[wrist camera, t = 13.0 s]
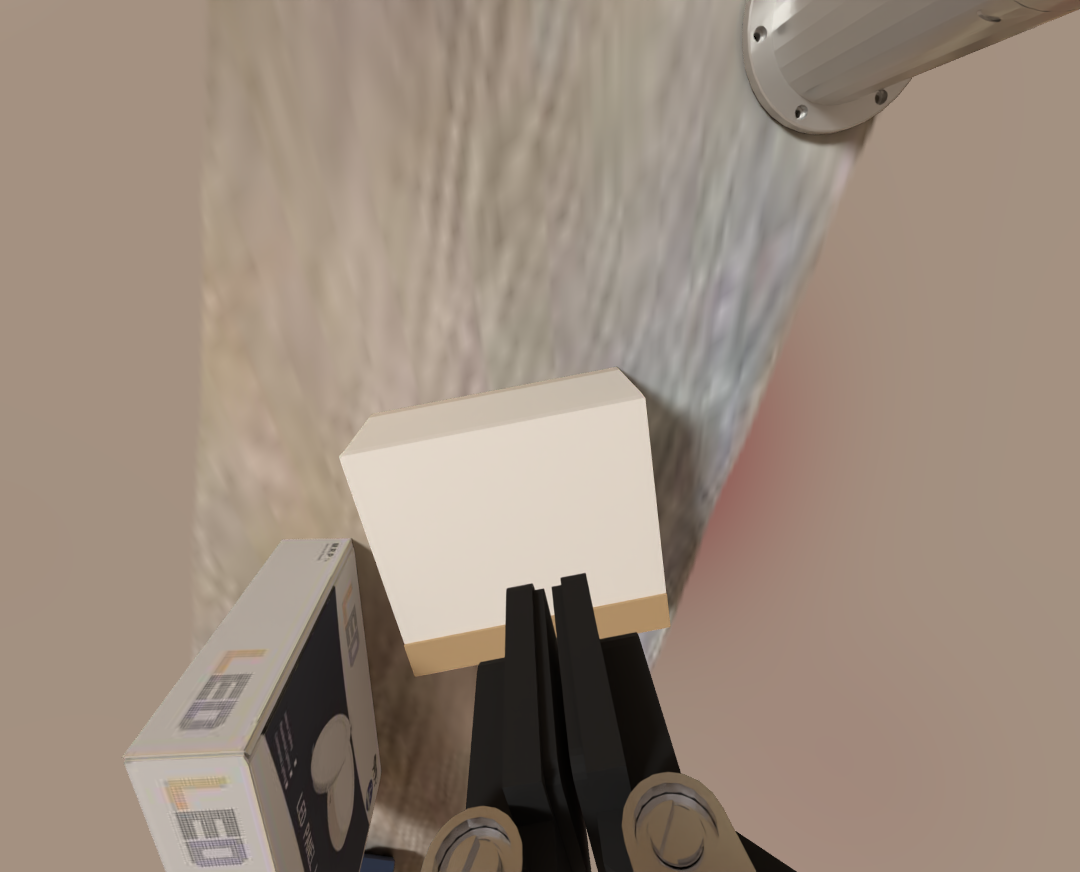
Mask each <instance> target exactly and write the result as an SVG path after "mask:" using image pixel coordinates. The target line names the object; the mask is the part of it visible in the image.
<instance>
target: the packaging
mask: <svg viewBox="0 0 1080 872" xmlns="http://www.w3.org/2000/svg"><path fill="white" fill-rule="evenodd" d="M122 758H123V759H125V762H124V764H125V767H126V769H127V772H128V775H129V777H130V780H131V782H132V785H133V788H134V790H135V793H136V796H137V798H138V800H139V803H140V806H141V808H142V811H143V814H144V816H145V819H146V822H147V824H148V827H149V829H150V832H151V835H152V837H153V840H154V843H155V845H156V848H157V850H158V853H159V856H160V858H161V861H162V863H163V866H164V868H165V871H166V872H360V868H361V864H362V859H363V855H364V850H365V846H366V841H367V837H368V832H369V828H370V823H371V819H372V814H373V810H374V805H375V801H376V796H377V792H378V787H379V783H380V778H381V764H380V756H379V748H378V739H377V731H376V723H375V715H374V707H373V698H372V690H371V682H370V674H369V666H368V657H367V649H366V641H365V633H364V625H363V617H362V608H361V600H360V592H359V584H358V576H357V567H356V559H355V551H354V547H353V545H352V539H351V538H326V539H282V540H281V542H280V543H279V545H278V546H277V547H276V549H275V550H274V551H273V553H272V554H271V555H270V557H269V558H268V559H267V561H266V562H265V564H264V565H263V566H262V568H261V569H260V570H259V572H258V573H257V574H256V576H255V577H254V579H253V580H252V581H251V583H250V584H249V585H248V587H247V588H246V589H245V591H244V592H243V594H242V595H241V596H240V598H239V599H238V601H237V602H236V603H235V605H234V606H233V607H232V609H231V610H230V611H229V613H228V614H227V616H226V617H225V618H224V620H223V621H222V622H221V624H220V625H219V626H218V628H217V629H216V630H215V632H214V633H213V635H212V636H211V637H210V639H209V640H208V641H207V643H206V644H205V645H204V647H203V648H202V650H201V651H200V652H199V653H198V655H197V656H196V657H195V659H194V660H193V661H192V663H191V664H190V665H189V667H188V668H187V670H186V671H185V672H184V674H183V675H182V676H181V678H180V679H179V681H178V682H177V683H176V685H175V686H174V687H173V689H172V690H171V691H170V693H169V694H168V695H167V697H166V698H165V699H164V701H163V702H162V704H161V705H160V706H159V708H158V709H157V710H156V712H155V713H154V714H153V716H152V717H151V718H150V720H149V721H148V723H147V724H146V725H145V727H144V728H143V729H142V731H141V732H140V733H139V735H138V736H137V737H136V739H135V740H134V742H133V743H132V745H131V746H130V747H129V748H128V750H127V751H126V752H125V754H124V755H123V757H122Z"/></svg>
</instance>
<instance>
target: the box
mask: <svg viewBox="0 0 1080 872" xmlns="http://www.w3.org/2000/svg"><path fill="white" fill-rule="evenodd" d="M641 394H642V393H641V392H640V391H639V390H638V389H637V388H636V387H635V385H634V384H633V383H632V382H631V381H630V380H629V379H628V378H627V377H626V376H625V375H624V374H623V373H622V372H621V371H620V370H619V369H618V368H617V367H613V368H607V369H602V370H597V371H592V372H587V373H581V374H576V375H571V376H566V377H561V378H555V379H550V380H545V381H540V382H535V383H530V384H524V385H519V386H514V387H509V388H504V389H498V390H493V391H488V392H483V393H478V394H472V395H467V396H462V397H457V398H452V399H446V400H441V401H436V402H431V403H426V404H420V405H415V406H410V407H405V408H400V409H394V410H389V411H384V412H379V413H374V414H371V416H370V417H369V418H368V420H367V421H366V422H365V424H364V425H363V426H362V428H361V429H360V430H359V432H358V433H357V434H356V436H355V437H354V438H353V440H352V441H351V442H350V444H349V445H348V446H347V448H346V449H345V450H344V452H346V451H351V450H356V449H362V448H367V447H372V446H377V445H382V444H388V443H393V442H398V441H403V440H408V439H413V438H419V437H424V436H429V435H434V434H439V433H445V432H450V431H455V430H460V429H465V428H470V427H476V426H481V425H486V424H491V423H496V422H501V421H507V420H512V419H517V418H522V417H527V416H533V415H538V414H543V413H548V412H553V411H558V410H564V409H569V408H574V407H579V406H584V405H590V404H595V403H600V402H605V401H610V400H615V399H621V398H626V397H631V396H636V395H641ZM642 395H643V394H642Z"/></svg>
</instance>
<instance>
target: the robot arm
mask: <svg viewBox="0 0 1080 872" xmlns="http://www.w3.org/2000/svg"><path fill="white" fill-rule="evenodd" d="M1079 9H1080V0H747V1H746V6H745V12H744V18H743V24H742V51H743V58H744V65H745V70H746V73H747V76H748V79H749V82H750V85H751V88H752V90H753V91H754V93H755V95H756V97H757V99H758V100H759V102H760V104H761V105H762V106H763V107H764V108H765V110H766V111H767V112H768V113H769V114H770V115H771V116H772V117H773V118H774V119H776V120H777V121H778V122H780V123H781V124H783V125H784V126H786V127H788V128H791V129H793V130H795V131H798V132H801V133H808V134H815V135H818V134H830V133H835V132H838V131H842V130H846V129H849V128H851V127H854V126H856V125H859V124H861V123H863V122H866V121H867V120H869V119H870V118H872V117H873V116H875V115H876V114H878V113H880V112H881V111H882V110H883V109H884V108H886V107H887V106H888V105H889V104H890V103H891V102H892V101H893V100H894V99H895V98H897V96H898V95H899V94H900V93H901V92H902V90H903V89H904V88H905V87H906V85H907V84H908V83H909V82H910V80H911V79H912V77H914V76H916V75H918V74H921V73H923V72H926V71H928V70H931V69H933V68H936V67H938V66H941V65H943V64H945V63H948V62H951V61H953V60H955V59H958V58H960V57H963V56H965V55H968V54H970V53H972V52H975V51H978V50H980V49H983V48H985V47H988V46H990V45H992V44H995V43H997V42H1000V41H1002V40H1005V39H1007V38H1010V37H1012V36H1015V35H1017V34H1019V33H1022V32H1024V31H1027V30H1030V29H1032V28H1035V27H1037V26H1039V25H1042V24H1044V23H1047V22H1049V21H1052V20H1054V19H1057V18H1059V17H1062V16H1064V15H1066V14H1069V13H1072V12H1074V11H1076V10H1079ZM754 35H755V36H756V37H757V42H756V41H755V40H754ZM795 112H796V113H797V118H796V116H795ZM560 580H561V585H558V586H553V587H552V597H553V606H554V616H555V625H556V634H555V630H554V626H553V622H552V618H551V614H550V610H549V606H548V602H547V598H546V594H545V590H544V588H543V589H538V590H535V588H534V585H533V584H532V583H531V584H526V585H521V586H516V587H510V588H507V589H506V621H505V657H504V658H499V659H493V660H488V661H483V662H480V663H479V665H478V671H477V681H476V693H475V705H474V717H473V729H472V742H471V754H470V766H469V778H468V790H467V803H466V810H464V811H462V812H461V813H459V814H457V815H455V816H453V817H452V818H451V819H450V820H449V821H448V822H447V823H446V824H445V825H444V826H443V827H441V829H440V830H439V832H438V833H437V835H436V836H435V837H434V839H433V840H432V842H431V843H430V846H429V848H428V851H427V854H426V856H425V859H424V861H423V865H422V869H421V872H591V866H590V857H589V849H588V841H587V832H588V836H589V840H590V843H591V847H592V851H593V854H594V858H595V862H596V866H597V869H598V872H796V871H795V870H793V869H792V868H790V867H789V866H787V865H786V864H784V863H783V862H781V861H780V860H778V859H777V858H775V857H774V856H772V855H771V854H769V853H768V852H766V851H765V850H763V849H762V848H760V847H759V846H757V845H756V844H754V843H753V842H751V841H750V840H748V839H747V838H745V837H744V836H742V835H741V834H739V833H738V832H736V831H735V829H734V828H733V826H732V824H731V822H730V820H729V818H728V816H727V814H726V812H725V810H724V808H723V807H722V805H721V804H720V802H719V801H718V799H717V798H716V796H715V795H714V794H713V792H711V791H710V790H709V789H708V788H707V787H706V786H704V785H703V784H702V783H701V782H700V781H698V780H696V779H694V778H692V777H689V776H687V775H685V774H681V773H680V769H679V766H678V762H677V759H676V756H675V753H674V749H673V746H672V743H671V740H670V736H669V733H668V730H667V726H666V723H665V720H664V717H663V713H662V710H661V707H660V704H659V700H658V697H657V694H656V691H655V687H654V684H653V681H652V678H651V674H650V671H649V668H648V665H647V661H646V658H645V655H644V652H643V648H642V645H641V642H640V639H639V636H638V633H637V632H634V633H629V634H623V635H618V636H613V637H608V638H603V639H600V638H599V634H598V629H597V624H596V619H595V615H594V610H593V605H592V600H591V596H590V591H589V586H588V581H587V577H586V573H582V574H576V575H571V576H566V577H561V578H560ZM556 635H557V638H556ZM586 829H587V832H586Z"/></svg>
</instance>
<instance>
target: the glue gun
mask: <svg viewBox="0 0 1080 872" xmlns="http://www.w3.org/2000/svg"><path fill="white" fill-rule="evenodd" d="M394 865H395V860H394V858H393V857H389V856H381V855H373V854H365V853H364V855H363V859H362V864H361V868H360V872H394Z"/></svg>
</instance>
